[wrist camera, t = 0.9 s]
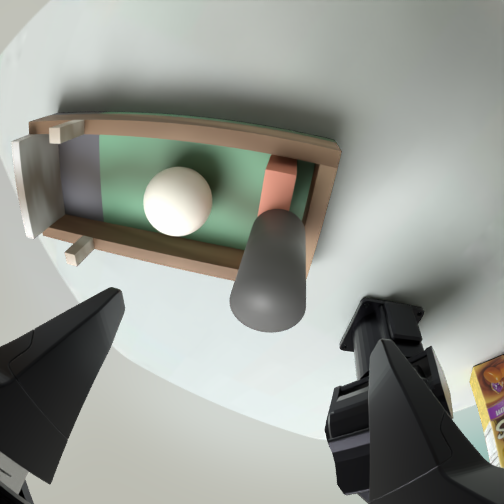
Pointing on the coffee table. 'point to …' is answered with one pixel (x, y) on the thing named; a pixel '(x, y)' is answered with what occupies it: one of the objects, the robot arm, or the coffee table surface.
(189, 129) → the tray
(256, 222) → the cylinder
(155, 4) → the coffee table surface
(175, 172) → the ball
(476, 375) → the candy box
